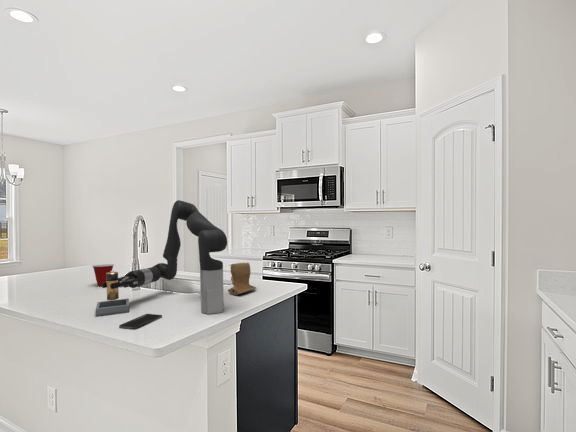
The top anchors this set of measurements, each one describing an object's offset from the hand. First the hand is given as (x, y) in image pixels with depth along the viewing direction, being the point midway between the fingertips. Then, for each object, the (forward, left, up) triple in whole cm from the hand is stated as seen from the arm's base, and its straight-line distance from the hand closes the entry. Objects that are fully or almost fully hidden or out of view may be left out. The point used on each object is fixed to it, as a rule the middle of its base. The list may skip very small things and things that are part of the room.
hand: (106, 286), depth 143 cm
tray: (+2, -2, -11) cm, 11 cm away
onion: (+27, -64, -11) cm, 70 cm away
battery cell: (+2, -2, -6) cm, 7 cm away
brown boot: (+7, -59, -11) cm, 60 cm away
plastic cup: (+60, +4, -11) cm, 61 cm away
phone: (-20, -12, -11) cm, 26 cm away
